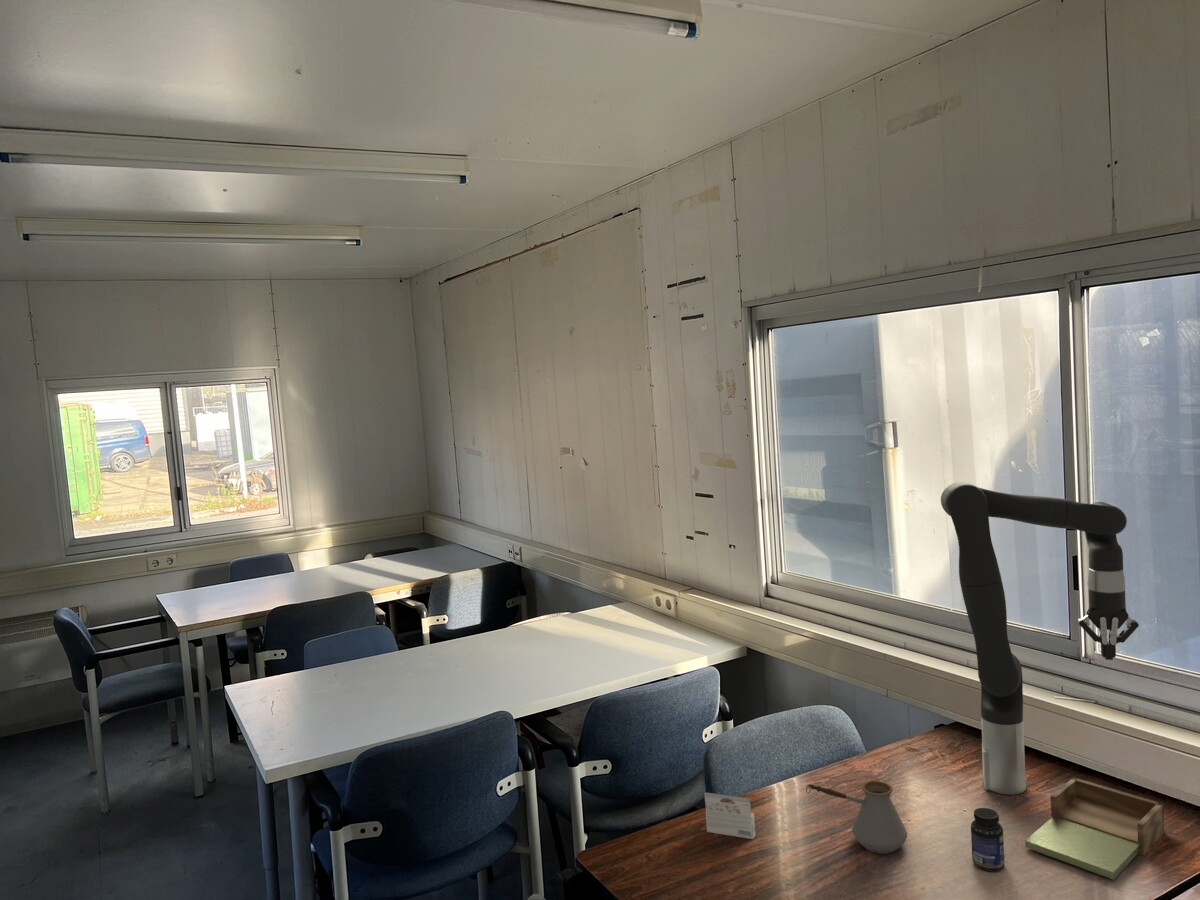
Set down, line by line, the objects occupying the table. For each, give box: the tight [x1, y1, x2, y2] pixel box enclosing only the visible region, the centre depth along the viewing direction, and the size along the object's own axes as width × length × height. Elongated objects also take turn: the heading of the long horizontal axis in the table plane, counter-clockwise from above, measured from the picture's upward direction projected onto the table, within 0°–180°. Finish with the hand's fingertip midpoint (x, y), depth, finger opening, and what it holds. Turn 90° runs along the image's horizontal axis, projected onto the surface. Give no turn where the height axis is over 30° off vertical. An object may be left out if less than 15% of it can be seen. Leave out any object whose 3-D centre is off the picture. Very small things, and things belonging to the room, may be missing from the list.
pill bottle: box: [970, 807, 1006, 873], centre depth 175 cm, size 6×6×11 cm
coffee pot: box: [805, 780, 908, 854], centre depth 186 cm, size 21×12×15 cm, turn 92°
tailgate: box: [1024, 816, 1140, 880], centre depth 177 cm, size 2×17×14 cm
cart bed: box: [1050, 776, 1165, 856], centre depth 185 cm, size 12×18×6 cm, turn 39°
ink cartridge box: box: [703, 792, 756, 840], centre depth 195 cm, size 2×11×10 cm, turn 65°
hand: (1108, 658), depth 202 cm, fingers closed
